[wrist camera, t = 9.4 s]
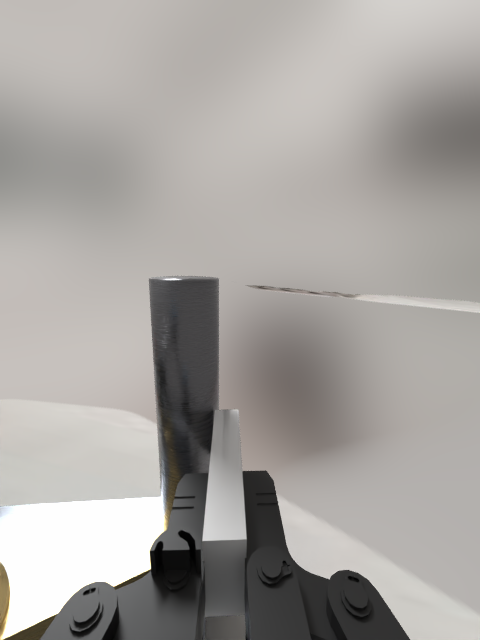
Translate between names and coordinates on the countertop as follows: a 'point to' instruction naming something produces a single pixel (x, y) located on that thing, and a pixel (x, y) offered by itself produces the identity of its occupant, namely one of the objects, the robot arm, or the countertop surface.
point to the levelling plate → (68, 530)
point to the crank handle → (174, 453)
